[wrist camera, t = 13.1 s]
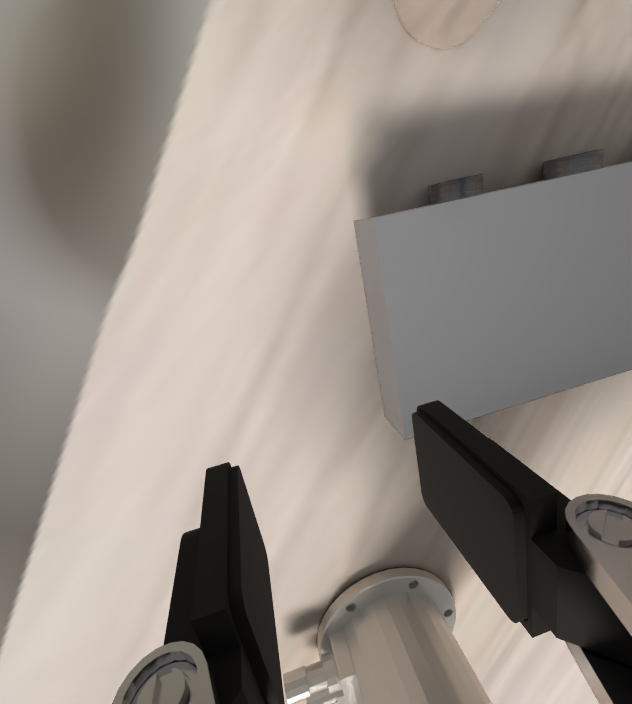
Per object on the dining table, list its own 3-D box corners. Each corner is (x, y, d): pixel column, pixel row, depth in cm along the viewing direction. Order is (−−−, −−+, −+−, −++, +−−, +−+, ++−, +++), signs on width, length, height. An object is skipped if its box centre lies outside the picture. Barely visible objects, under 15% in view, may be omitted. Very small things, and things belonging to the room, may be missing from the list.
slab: (384, 416, 24) (405, 439, 21) (353, 221, 20) (373, 218, 17) (691, 324, 27) (744, 334, 25) (715, 142, 24) (781, 129, 21)
